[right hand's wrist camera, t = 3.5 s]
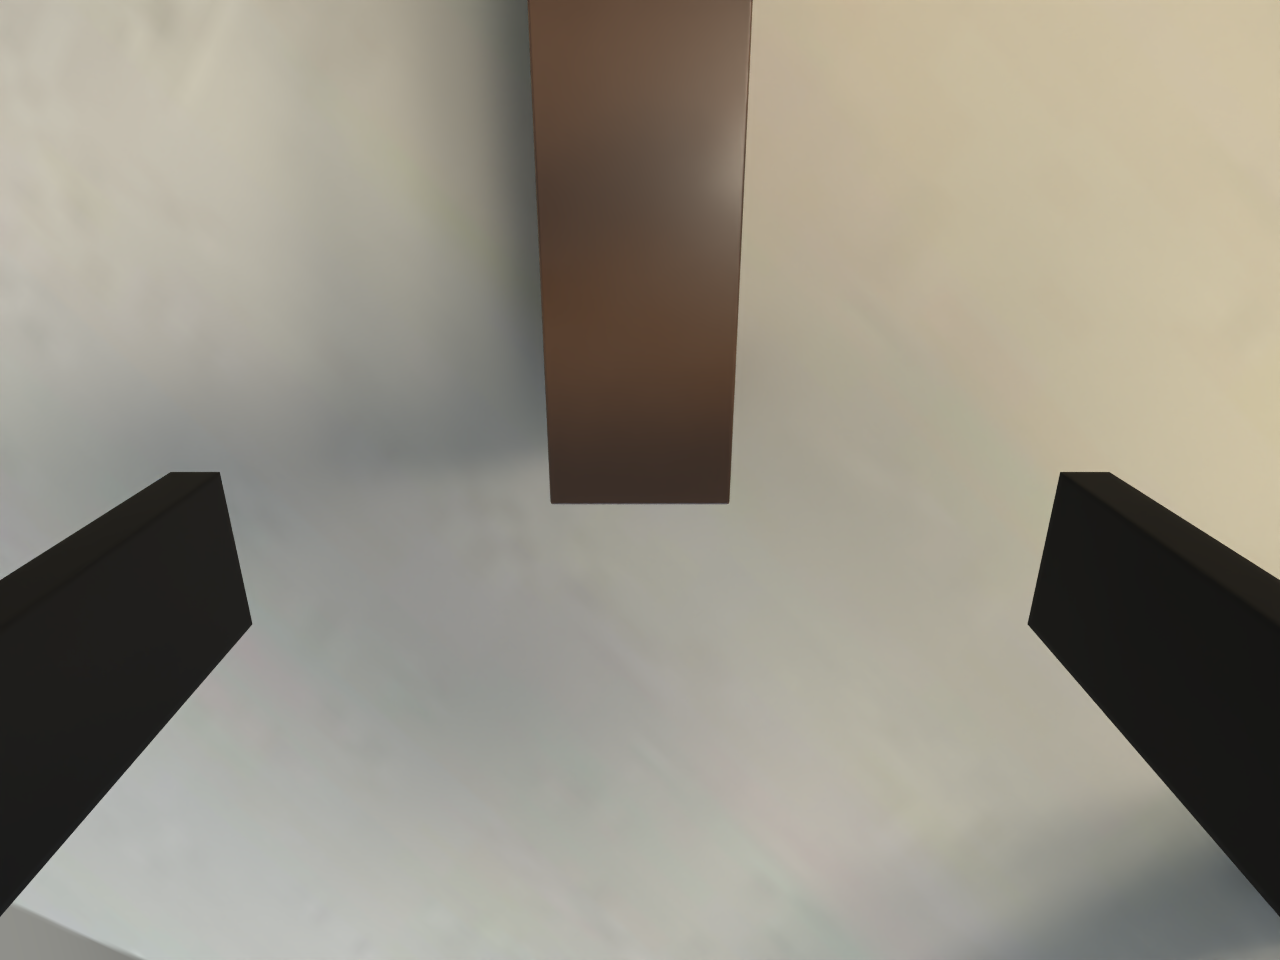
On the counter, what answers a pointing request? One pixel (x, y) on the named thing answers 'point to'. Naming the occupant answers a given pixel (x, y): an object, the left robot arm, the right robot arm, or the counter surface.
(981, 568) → the counter surface
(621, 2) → the walnut beam
